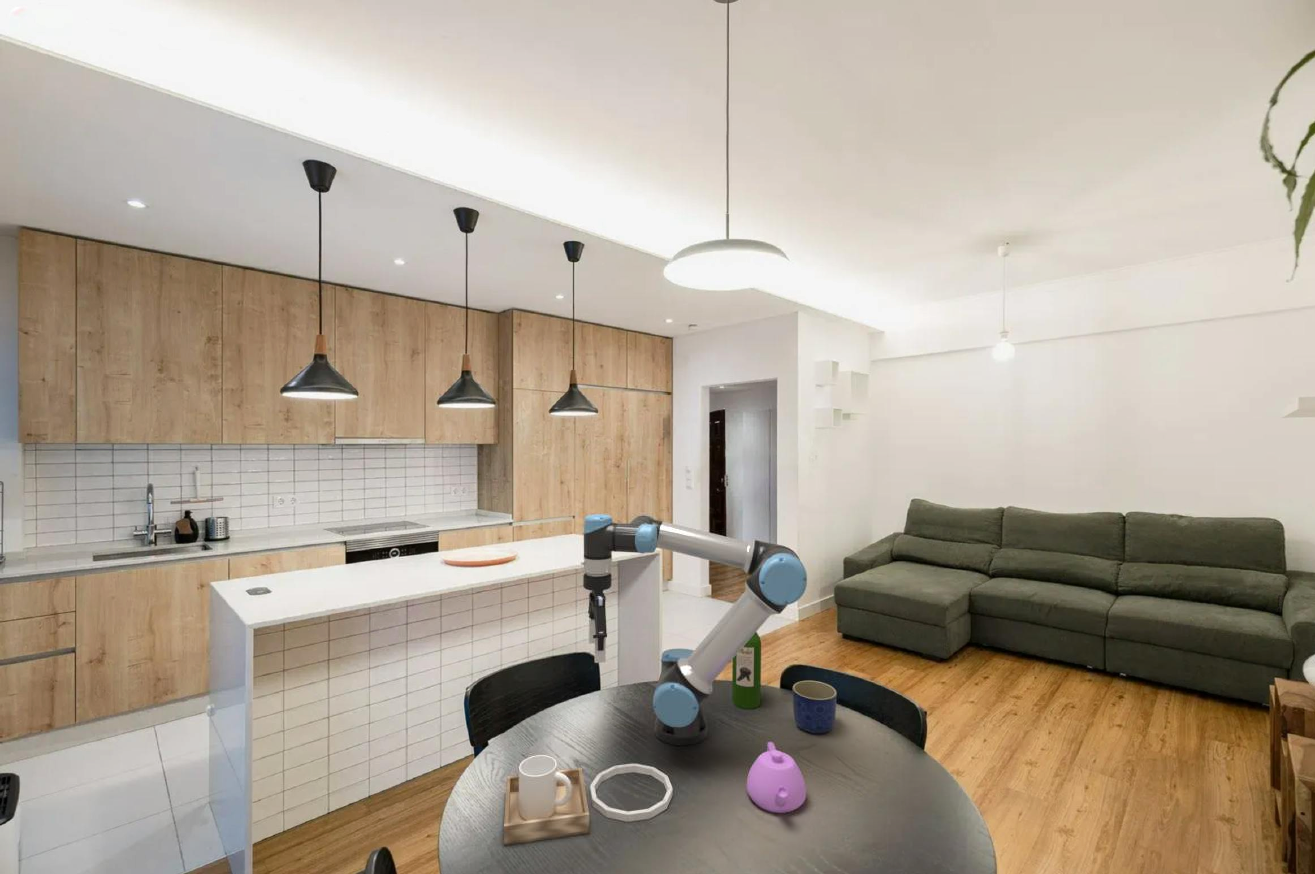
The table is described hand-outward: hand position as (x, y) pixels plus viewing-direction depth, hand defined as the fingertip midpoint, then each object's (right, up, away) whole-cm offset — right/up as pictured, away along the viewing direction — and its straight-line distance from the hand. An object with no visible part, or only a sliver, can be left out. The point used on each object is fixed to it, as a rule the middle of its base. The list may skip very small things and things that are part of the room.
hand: (596, 652), depth 156 cm
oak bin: (-9, -27, -25) cm, 38 cm away
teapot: (+44, -28, -19) cm, 56 cm away
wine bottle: (+44, -27, +29) cm, 60 cm away
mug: (-9, -27, -25) cm, 38 cm away
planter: (+62, -27, +15) cm, 69 cm away
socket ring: (+10, -27, -18) cm, 34 cm away
